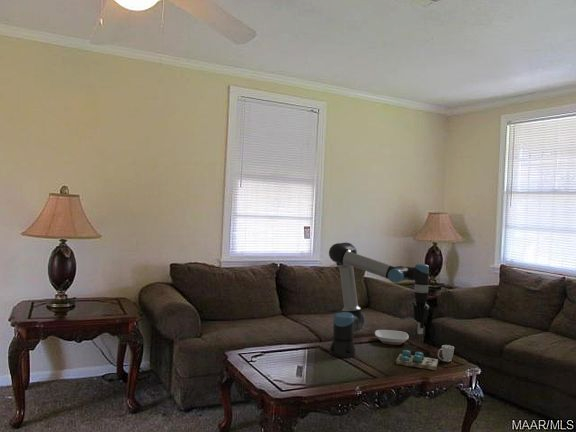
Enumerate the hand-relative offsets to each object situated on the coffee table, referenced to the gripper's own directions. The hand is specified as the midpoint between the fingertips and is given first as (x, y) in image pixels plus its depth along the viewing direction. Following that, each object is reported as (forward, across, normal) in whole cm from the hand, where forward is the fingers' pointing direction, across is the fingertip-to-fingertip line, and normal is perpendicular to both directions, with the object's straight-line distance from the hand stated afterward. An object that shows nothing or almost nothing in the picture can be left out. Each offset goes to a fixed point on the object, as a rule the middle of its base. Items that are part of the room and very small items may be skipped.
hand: (420, 333), depth 265 cm
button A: (+16, +1, +10) cm, 18 cm away
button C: (+14, -4, +5) cm, 15 cm away
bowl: (+16, +40, -8) cm, 44 cm away
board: (+16, -2, +3) cm, 16 cm away
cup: (+17, -2, -16) cm, 23 cm away
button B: (+14, +5, +5) cm, 16 cm away
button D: (+14, 0, 0) cm, 14 cm away
